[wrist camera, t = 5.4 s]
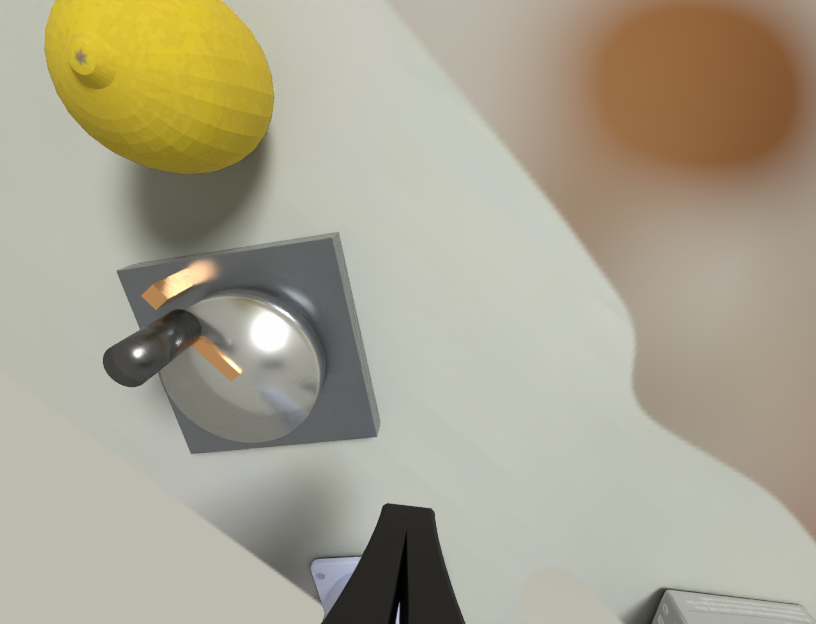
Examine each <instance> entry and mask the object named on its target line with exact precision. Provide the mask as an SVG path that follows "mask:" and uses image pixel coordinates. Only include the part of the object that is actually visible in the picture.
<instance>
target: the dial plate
mask: <svg viewBox="0 0 816 624" xmlns="http://www.w3.org/2000/svg"><path fill="white" fill-rule="evenodd" d="M117 274H118V276H119V279H120V281H121V283H122V286H123V288H124V291H125V293H126V296H127V298H128V301H129V303H130V305H131V308H132V310H133V313H134V315H135V318H136V320H137V323H138V325H139V328H140V330H141V329H142V328H144V327H146V326H147V325H149V324H151V323H152V322H154V321H156V320H157V319H159V318H161V317H162V316H164V315H166V314H167V313H169V312H171V311H173V310H176V309H182V310H186V309H187V308H189V307H190V306H192V305H194V304H195V303H197V302H198V301H200V300H202V299H203V298H205V297H206V296H208V295H211V294H213V293H215V292H218V291H222V290H227V289H235V288H244V289H253V290H258V291H262V292H265V293H268V294H271V295H273V296H276V297H278V298H279V299H281V300H283V301H285V302H287V303H288V304H289V305H291V306H292V307H294V308H295V309H296V310H297V311H298V312H300V313H301V314H302V315H303V316H304V317H305V319H306V320H307V321H308V322H309V323H310V325H311V326H312V327H313V329H314V330H315V332H316V334H317V336H318V338H319V340H320V342H321V345H322V347H323V351H324V355H325V363H326V371H325V379H324V383H323V386H322V389H321V391H320V393H319V395H318V397H317V399H316V401H315V403H314V405H313V407H312V409H311V411H310V413H309V414H308V416H307V417H306V419H305V420H304V421H303V422H302V423H301V424H300V425H299V426H298V427H297V428H296V429H295V430H293V431H292V432H290V433H289V434H287V435H285V436H283V437H281V438H278V439H275V440H271V441H266V442H258V443H244V442H238V441H232V440H228V439H225V438H222V437H219V436H216V435H214V434H212V433H210V432H208V431H206V430H204V429H203V428H201V427H200V426H198V425H197V424H195V423H194V422H193V421H191V420H190V419H189V418H188V417H187V416H186V415H185V414H183V413H182V412H181V410H180V409H179V408H178V407H177V406H176V405H175V403H174V402H173V400H172V399H171V397H170V396H169V394H168V392H167V390H166V388H165V386H164V383H163V381H162V378H161V374H160V371H159V372H158V374H159V377H160V379H161V381H162V384H163V386H164V389H165V391H166V394H167V396H168V399H169V401H170V403H171V406H172V408H173V411H174V413H175V416H176V418H177V421H178V423H179V425H180V428H181V430H182V433H183V435H184V438H185V440H186V443H187V445H188V448H189V450H190V452H191V454H195V453H206V452H217V451H228V450H238V449H249V448H260V447H271V446H282V445H293V444H304V443H315V442H326V441H337V440H348V439H359V438H370V437H377V435H378V430H379V426H380V419H379V414H378V410H377V405H376V401H375V396H374V391H373V387H372V382H371V378H370V373H369V369H368V364H367V360H366V355H365V350H364V346H363V341H362V337H361V332H360V328H359V323H358V319H357V314H356V310H355V305H354V300H353V296H352V291H351V287H350V282H349V278H348V273H347V269H346V264H345V259H344V255H343V250H342V246H341V241H340V237H339V232H337V233H331V234H324V235H318V236H312V237H305V238H299V239H292V240H286V241H279V242H273V243H267V244H260V245H254V246H247V247H241V248H235V249H228V250H222V251H215V252H209V253H202V254H196V255H190V256H183V257H177V258H170V259H164V260H157V261H151V262H145V263H138V264H133V265H131V266H128V267H125V268H123V269H120V270H117Z"/></svg>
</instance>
